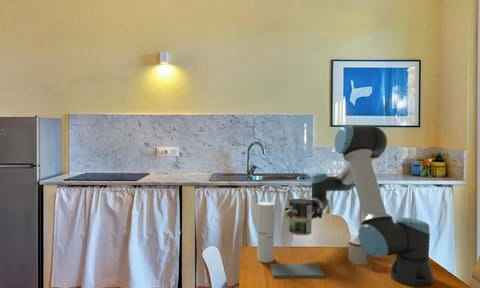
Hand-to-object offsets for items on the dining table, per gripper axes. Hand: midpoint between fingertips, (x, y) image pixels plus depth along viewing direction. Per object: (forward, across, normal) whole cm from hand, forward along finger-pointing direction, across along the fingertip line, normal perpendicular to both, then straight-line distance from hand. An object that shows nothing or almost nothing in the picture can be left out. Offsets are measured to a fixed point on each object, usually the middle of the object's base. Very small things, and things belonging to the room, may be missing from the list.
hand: (296, 216), depth 161 cm
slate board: (+11, -4, -20) cm, 23 cm away
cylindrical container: (+5, +13, -20) cm, 24 cm away
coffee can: (-4, 0, -8) cm, 9 cm away
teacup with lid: (-15, -24, -20) cm, 34 cm away
